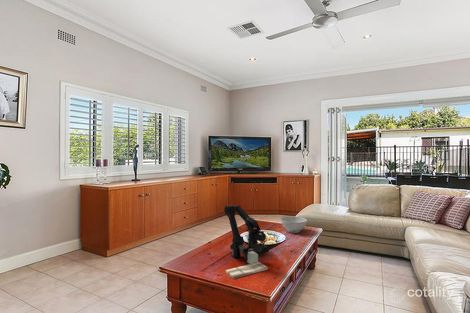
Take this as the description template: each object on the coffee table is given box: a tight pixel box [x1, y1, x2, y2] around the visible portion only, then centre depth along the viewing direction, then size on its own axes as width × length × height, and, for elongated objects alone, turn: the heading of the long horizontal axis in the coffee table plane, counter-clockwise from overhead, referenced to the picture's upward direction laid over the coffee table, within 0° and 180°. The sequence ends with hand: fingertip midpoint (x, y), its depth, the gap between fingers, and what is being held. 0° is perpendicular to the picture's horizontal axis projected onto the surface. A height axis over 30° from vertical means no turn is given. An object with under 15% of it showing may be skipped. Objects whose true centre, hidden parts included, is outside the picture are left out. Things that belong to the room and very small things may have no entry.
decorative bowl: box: [280, 215, 308, 234], centre depth 266 cm, size 27×27×12 cm
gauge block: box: [246, 250, 259, 265], centre depth 188 cm, size 10×5×7 cm, turn 30°
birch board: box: [225, 261, 269, 280], centre depth 174 cm, size 10×27×2 cm, turn 120°
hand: (252, 259), depth 187 cm, fingers open, 9 cm apart
